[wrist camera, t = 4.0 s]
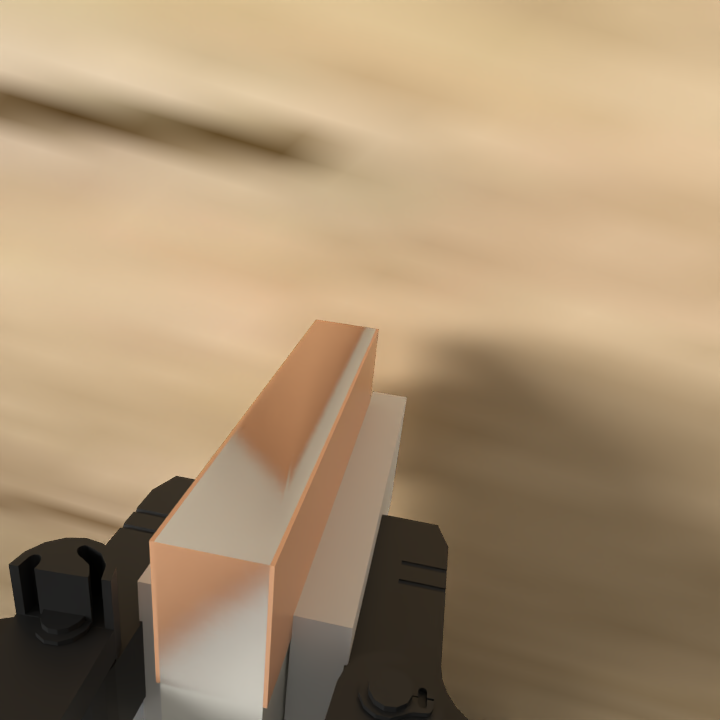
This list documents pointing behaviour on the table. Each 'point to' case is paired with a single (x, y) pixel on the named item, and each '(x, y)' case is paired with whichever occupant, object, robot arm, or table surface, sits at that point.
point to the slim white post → (256, 533)
